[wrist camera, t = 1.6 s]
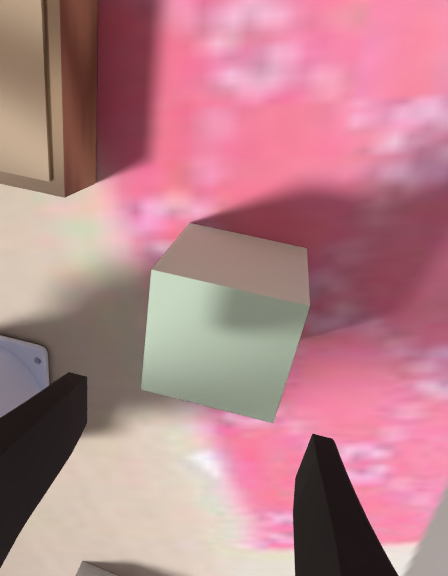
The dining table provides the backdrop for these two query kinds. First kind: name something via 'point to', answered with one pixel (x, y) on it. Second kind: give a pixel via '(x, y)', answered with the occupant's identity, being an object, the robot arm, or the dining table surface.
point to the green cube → (225, 320)
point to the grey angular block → (92, 571)
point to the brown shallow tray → (48, 94)
